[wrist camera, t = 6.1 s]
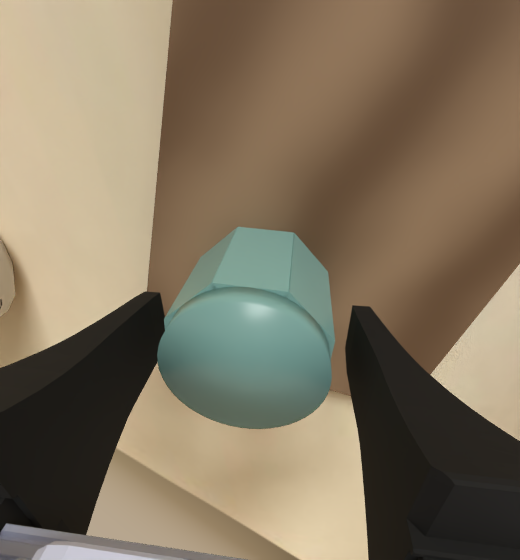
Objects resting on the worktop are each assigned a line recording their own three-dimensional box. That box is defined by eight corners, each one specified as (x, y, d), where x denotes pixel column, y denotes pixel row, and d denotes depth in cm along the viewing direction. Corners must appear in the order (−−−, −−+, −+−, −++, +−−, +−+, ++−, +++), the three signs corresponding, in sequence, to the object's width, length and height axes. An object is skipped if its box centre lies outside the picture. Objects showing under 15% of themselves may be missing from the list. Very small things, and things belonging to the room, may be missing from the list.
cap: (334, 236, 13) (348, 315, 9) (314, 341, 16) (317, 439, 11) (198, 222, 13) (147, 291, 9) (203, 326, 16) (165, 416, 12)
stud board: (650, 55, 10) (841, 44, 6) (396, 391, 18) (417, 467, 15) (196, -93, 9) (128, -195, 6) (152, 322, 18) (113, 383, 14)
